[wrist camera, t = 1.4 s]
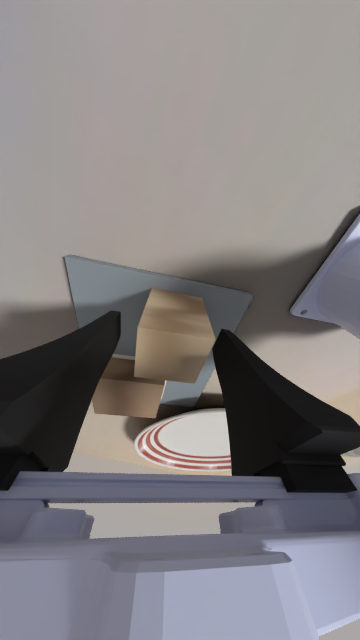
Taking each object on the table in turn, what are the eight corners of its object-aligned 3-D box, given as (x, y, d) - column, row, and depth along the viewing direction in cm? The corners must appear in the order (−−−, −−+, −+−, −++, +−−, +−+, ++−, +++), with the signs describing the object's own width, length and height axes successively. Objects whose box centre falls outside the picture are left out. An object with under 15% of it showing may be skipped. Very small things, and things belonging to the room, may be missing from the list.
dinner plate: (132, 450, 33) (128, 471, 31) (145, 378, 18) (140, 406, 16) (244, 456, 37) (249, 475, 35) (329, 400, 22) (351, 426, 20)
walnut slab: (166, 364, 16) (164, 385, 14) (157, 397, 20) (155, 418, 18) (99, 355, 15) (87, 376, 13) (103, 392, 19) (94, 413, 17)
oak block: (202, 297, 12) (215, 339, 8) (189, 335, 14) (194, 383, 10) (152, 287, 11) (137, 327, 7) (147, 328, 14) (133, 376, 9)
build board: (250, 292, 12) (254, 296, 12) (193, 402, 22) (194, 407, 22) (69, 254, 10) (63, 256, 10) (94, 393, 20) (92, 397, 20)
